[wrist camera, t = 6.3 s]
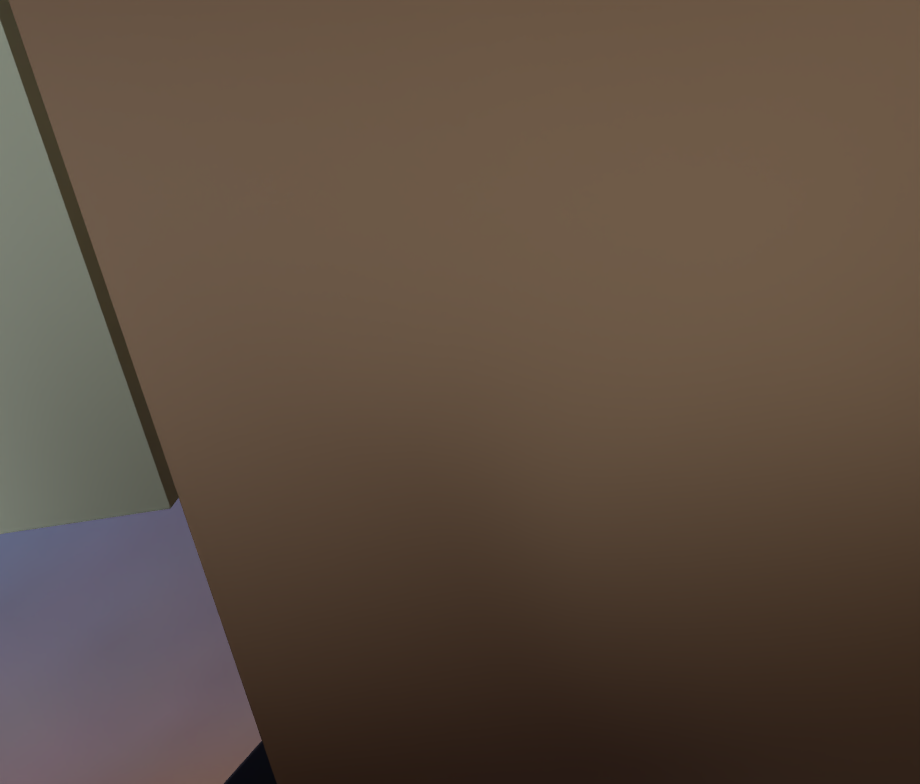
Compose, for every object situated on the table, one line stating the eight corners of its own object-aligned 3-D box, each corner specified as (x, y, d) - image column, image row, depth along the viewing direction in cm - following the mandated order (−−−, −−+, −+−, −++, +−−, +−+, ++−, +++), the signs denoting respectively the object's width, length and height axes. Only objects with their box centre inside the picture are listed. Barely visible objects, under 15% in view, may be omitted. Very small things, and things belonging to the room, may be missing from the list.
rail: (759, 794, 11) (968, 1319, 6) (473, 827, 11) (469, 1347, 7) (697, -256, 7) (1187, -1011, 2) (244, -155, 7) (-205, -622, 2)
